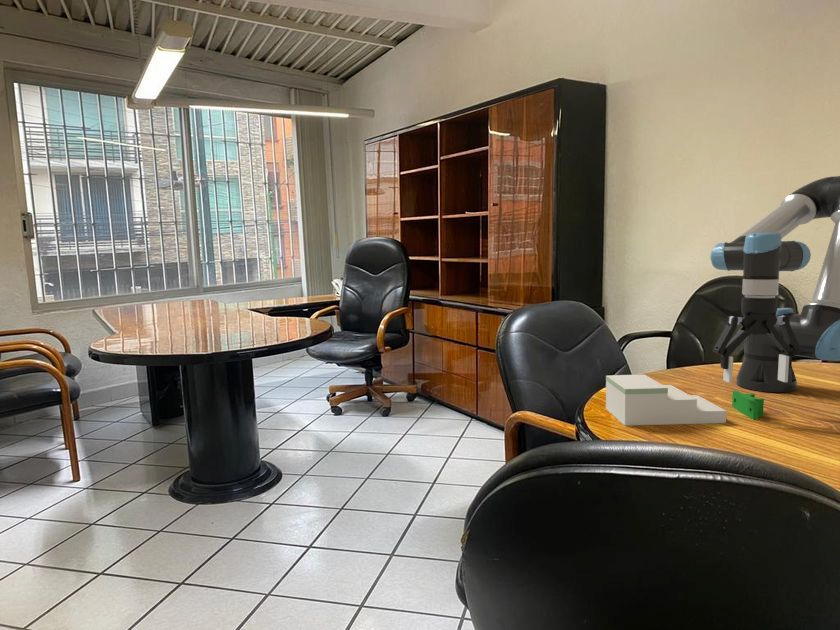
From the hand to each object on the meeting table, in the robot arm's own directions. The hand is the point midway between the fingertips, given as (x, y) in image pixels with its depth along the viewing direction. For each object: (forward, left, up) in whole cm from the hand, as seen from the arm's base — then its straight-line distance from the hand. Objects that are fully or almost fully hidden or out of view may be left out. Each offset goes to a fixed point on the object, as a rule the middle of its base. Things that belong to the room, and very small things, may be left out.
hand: (755, 381), depth 135 cm
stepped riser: (+23, 0, -8) cm, 24 cm away
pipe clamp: (+1, 0, -9) cm, 9 cm away
